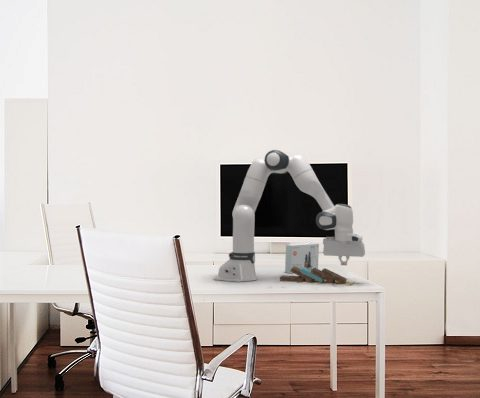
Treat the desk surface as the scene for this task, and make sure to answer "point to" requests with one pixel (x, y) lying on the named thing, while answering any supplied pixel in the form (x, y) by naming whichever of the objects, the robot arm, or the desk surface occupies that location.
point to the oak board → (328, 282)
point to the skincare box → (301, 256)
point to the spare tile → (307, 272)
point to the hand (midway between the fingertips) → (343, 265)
